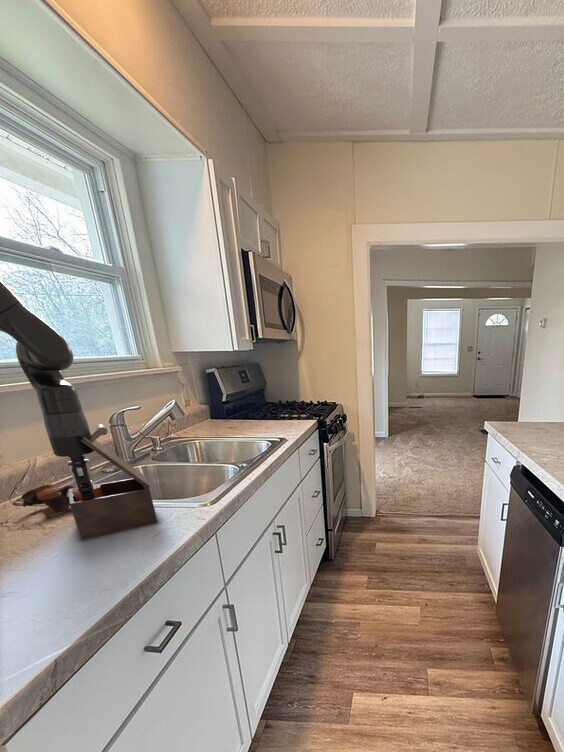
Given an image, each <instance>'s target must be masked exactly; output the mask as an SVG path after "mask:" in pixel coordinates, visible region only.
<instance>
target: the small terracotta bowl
mask: <svg viewBox="0 0 564 752" xmlns="http://www.w3.org/2000/svg"><path fill="white" fill-rule="evenodd" d="M98 484H99V483H97V484H95V483H93V484H91V485H92V487H93V489H94V490H93V494H94V497H95V498H100V497H104V495H103V492H102V488H101V485H98ZM85 486H89V485H84V486H82V485H81V487H85ZM72 493H73V496H74V499H75V502H78V501H83V498H82V495H81V494H80V492H79V491H78V486H75V488H74V489H72Z"/></svg>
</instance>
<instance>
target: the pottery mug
mask: <svg viewBox="0 0 564 752" xmlns="http://www.w3.org/2000/svg"><path fill="white" fill-rule="evenodd" d="M72 488H76V486H74V485H71V484H67V485H64V486H62V487H59V488H58V487H55V485H54V484H52V483H49V484H44V485H40V486H38V487H35V488H33V489H30V490H29V491H26V492H25V493H23V494H22V495H21V499H22V500H23V502H22V507H23V508H26V507H32V506H36V505H46V506H47V507H46V508H44V509H42V510H41V512H42V513H43V514H44V515H45V517H46V518H49V517H53V516H55V515H58V514H60V513H65V512H68V511H70V510H71V507H70V502H69V495H68V493H69V489H72Z"/></svg>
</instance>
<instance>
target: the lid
mask: <svg viewBox="0 0 564 752" xmlns="http://www.w3.org/2000/svg"><path fill="white" fill-rule="evenodd" d="M95 428H96V429H95V431H94V432H93V433H91V437H92V438H91V439H90V440H88V439H87V438H85V437H84V436H82V437H81V438H80V440H81V442H83V443H84V444H86V445H87V446H88V447H90V448H91V449H93V450H94V451H93V452H95V453H97V454H98V455H99V456H101V457H102V458H103V459H105V460H106V461H108V462H109V463H111V464H112V465H113V466H115V467H116V468H118V469H120V470H121V471H122V472H124V473H125V474H126V475H128V476H129V477H131V479H132V478H133V479H135V480H136V481H138V482H139V483H141V484H142V485H143V486H145V487H146V488H149V489H150V487H151V485H150V484H149V482H148V480H147V479H146V477H145V476H144V474H143V473H142V472H140V471H139V470H137V469H136V467H134V466H132V465H131V464H129V463H128V462H127V461H125V460H124V459H122V458H121V457H120V456H118V455H117V454H116V453H114V452H113V451H111V450H110V449H109V448H107V447H106V446H105V445H103V444H102V443H100V442H99V441H98V440H97V439H98V438H100V437H102V436H106V435H107V434H108V429H107V428H106V426H105V425H104V424H102V423H99V424H97V425H96V427H95Z"/></svg>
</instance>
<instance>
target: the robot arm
mask: <svg viewBox="0 0 564 752" xmlns="http://www.w3.org/2000/svg"><path fill="white" fill-rule="evenodd" d="M0 332H2V333H4V334H7V335H9V336H10V337H11V338H12V339H13V340H15V341H16V343H15V355H16V359H17V361H18V363H19V367H21V369H22V372H23V373H24V375H25V377H26V378H27V380H28V382H29V384H30V385H31V387H32V388H33V390H34V391H35V394H36V398H37V401H38V404H39V406H40V410H41V413H42V418H43V424H44V427H45V431H46V434H47V437H48V440H49V443H50V446H51V450H52V452H53V454H54V456H56V457H58V458H59V457H60V458H66V457H68V458H69V459H70V461H67V468H68V470H69V473H71V476H72V480H73V482H74V484H76V487H78V491H79V492H80V494H81V495H82V498H83V500H89V499H94V498H95V497H94V494H93V490H94V489H93V487H92V485H91V484H92V482H93V479H94V478H93V475H92V471H91V468H92V467H91V463H90V461H89V458H86V457H85V456H84V455H90V454H92V453H94V452H95V451H94V450H93V449H91V448H90V447H88V446H87V445H86V444H84V443H83V442H81V440H80V438H81V437H82V436H84V437H85V438H87V439H88V440H90V439H91V438H92V437H91V435H92V433H91V430H90V426H89V423H88V420H87V418H86V415H85V413H84V410H83V408H82V404H81V400H80V398H79V394H78V391H77V389H76V387H75V386H74V385H73V384H71V383H69V382H67V380H66V379H65V377H64V375H63V372H62V371H64V370H67V369H69V368H70V367H71V366H72V364H73V363H74V353H73V350H72V348H71V347H70V345H69V343H68V342H67V341H66V339H65V338H64V337H63V336H62V335H61V334H60V333H59V332H58V331H57V330H55V329H54V328H53V327H51V325H49V324H48V323H46V322H45V321H44V320H43V319H42V318H41V317H39V315H37V314H35V313H34V312H33V311H32V310H30V309H28V307H26V306H25V304H24V303H23V302H22V300H20V299H19V298H18V297H17V296H16V294H14V293H13V291H12V290H11V289H10V288H9V287H8V286H6V284H5V283H4V282H3V281H2V280H1V279H0ZM84 485H89V486H85V487H81V486H84Z"/></svg>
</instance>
